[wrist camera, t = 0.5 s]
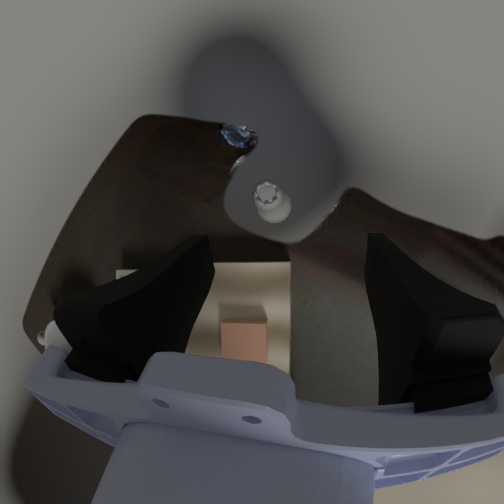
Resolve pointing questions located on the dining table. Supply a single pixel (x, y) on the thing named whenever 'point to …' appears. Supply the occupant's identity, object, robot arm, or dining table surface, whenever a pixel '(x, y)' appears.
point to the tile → (245, 339)
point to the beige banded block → (247, 307)
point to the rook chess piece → (271, 201)
